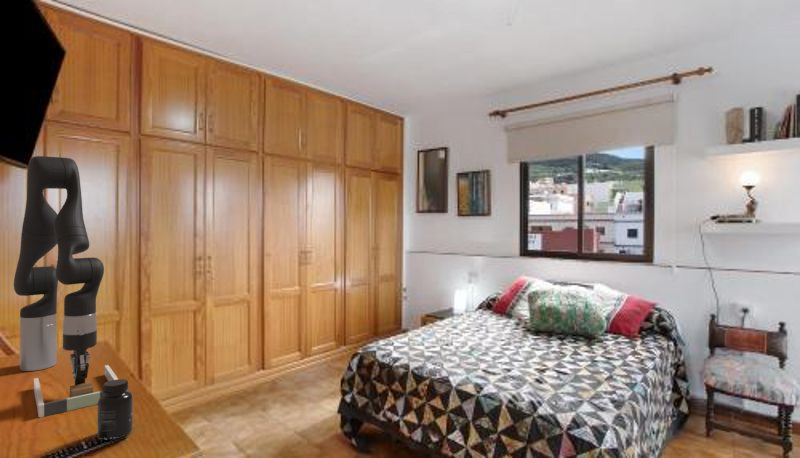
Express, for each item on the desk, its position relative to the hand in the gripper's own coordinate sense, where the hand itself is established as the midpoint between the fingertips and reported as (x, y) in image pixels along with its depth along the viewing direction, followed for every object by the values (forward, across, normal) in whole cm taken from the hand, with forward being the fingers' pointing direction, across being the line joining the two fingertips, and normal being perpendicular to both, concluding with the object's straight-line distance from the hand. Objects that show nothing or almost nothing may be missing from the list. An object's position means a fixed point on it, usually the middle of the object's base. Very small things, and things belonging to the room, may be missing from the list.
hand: (79, 392), depth 117 cm
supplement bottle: (+2, +30, +3) cm, 30 cm away
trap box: (+2, -4, 0) cm, 4 cm away
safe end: (+1, +8, 0) cm, 8 cm away
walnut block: (+2, +4, 0) cm, 5 cm away
